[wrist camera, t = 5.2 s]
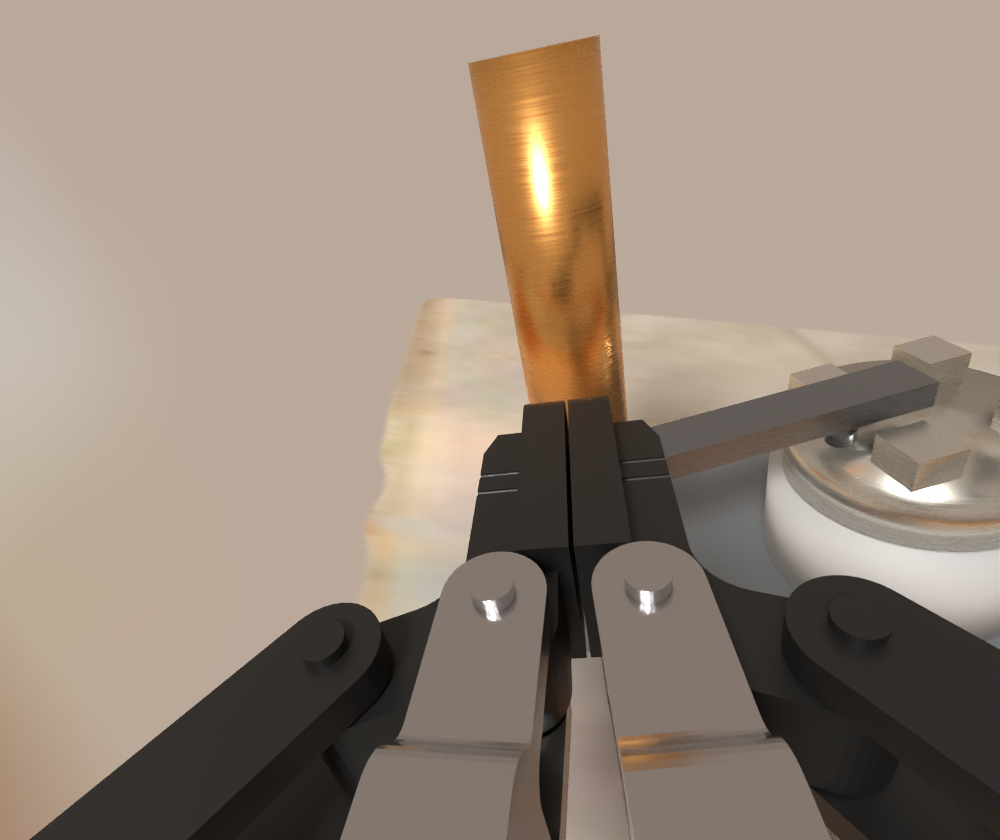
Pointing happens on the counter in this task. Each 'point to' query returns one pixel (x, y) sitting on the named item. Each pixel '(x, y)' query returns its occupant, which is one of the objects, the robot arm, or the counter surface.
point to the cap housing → (822, 546)
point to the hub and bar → (745, 426)
